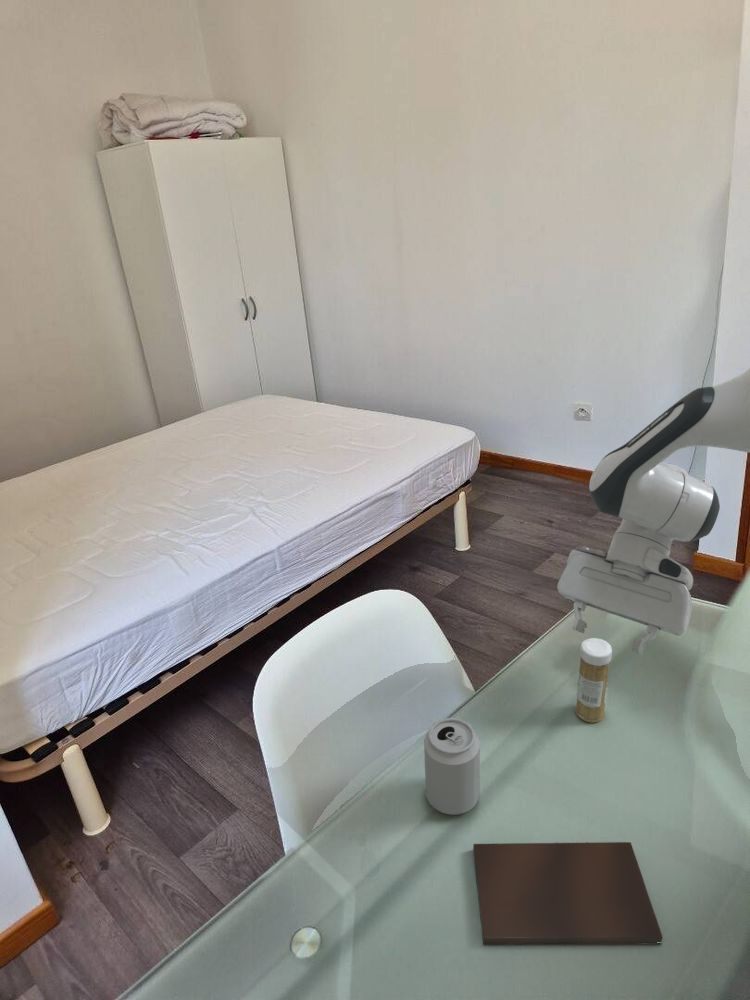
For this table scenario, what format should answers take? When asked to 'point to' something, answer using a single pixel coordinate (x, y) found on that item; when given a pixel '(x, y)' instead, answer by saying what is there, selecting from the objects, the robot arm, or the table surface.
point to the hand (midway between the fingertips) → (606, 641)
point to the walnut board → (563, 894)
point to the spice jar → (593, 679)
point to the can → (452, 766)
